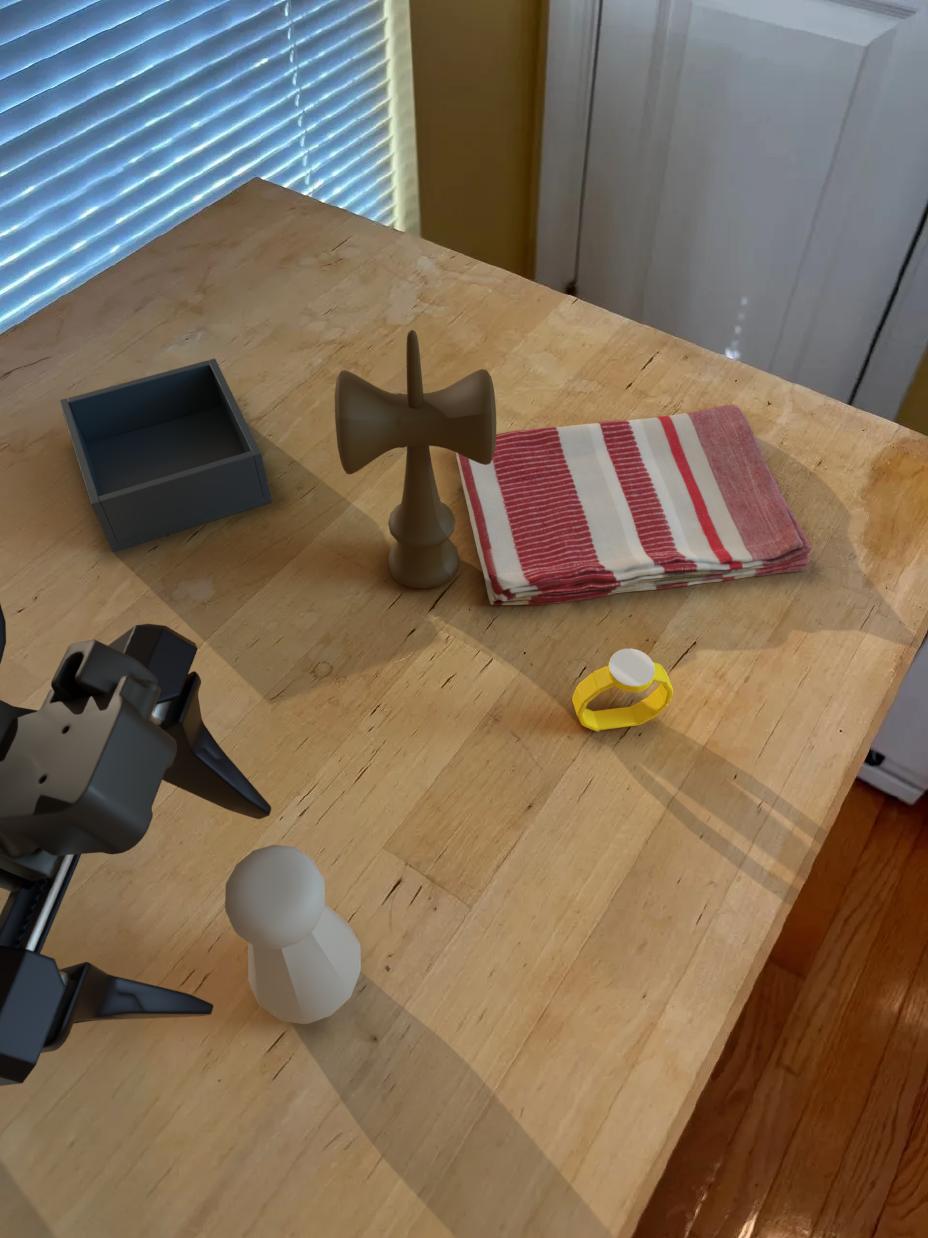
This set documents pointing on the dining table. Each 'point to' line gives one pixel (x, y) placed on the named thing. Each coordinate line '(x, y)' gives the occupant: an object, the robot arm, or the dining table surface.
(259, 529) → the dining table surface
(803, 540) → the dish towel
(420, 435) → the kendama
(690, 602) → the dining table surface
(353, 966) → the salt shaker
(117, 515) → the bin
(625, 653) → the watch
